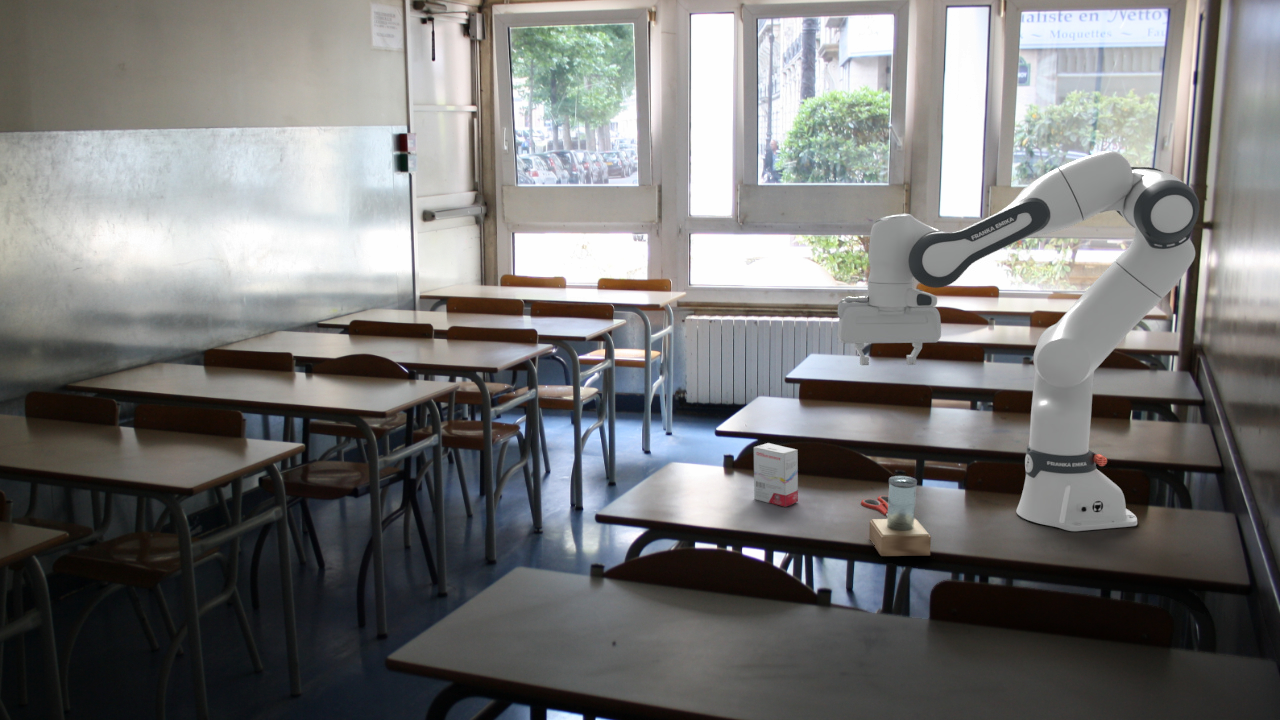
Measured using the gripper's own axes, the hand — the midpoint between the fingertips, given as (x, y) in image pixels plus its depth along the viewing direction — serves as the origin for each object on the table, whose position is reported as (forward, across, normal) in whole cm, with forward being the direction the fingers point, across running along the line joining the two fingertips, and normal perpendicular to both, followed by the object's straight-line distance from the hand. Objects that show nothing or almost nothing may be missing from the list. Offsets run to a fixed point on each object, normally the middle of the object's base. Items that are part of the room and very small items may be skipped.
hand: (887, 364), depth 202 cm
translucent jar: (+27, -2, -20) cm, 34 cm away
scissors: (+32, +2, -2) cm, 32 cm away
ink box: (+31, -21, +8) cm, 38 cm away
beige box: (+31, -2, -20) cm, 37 cm away
